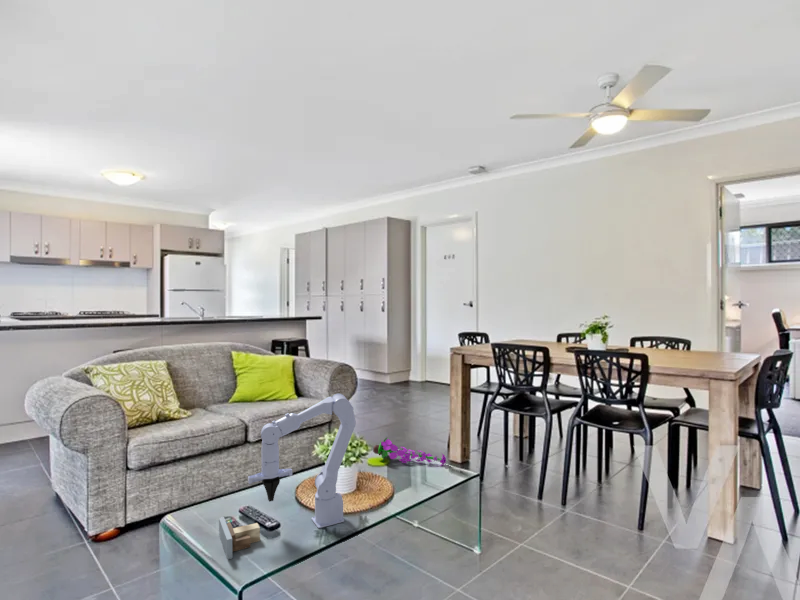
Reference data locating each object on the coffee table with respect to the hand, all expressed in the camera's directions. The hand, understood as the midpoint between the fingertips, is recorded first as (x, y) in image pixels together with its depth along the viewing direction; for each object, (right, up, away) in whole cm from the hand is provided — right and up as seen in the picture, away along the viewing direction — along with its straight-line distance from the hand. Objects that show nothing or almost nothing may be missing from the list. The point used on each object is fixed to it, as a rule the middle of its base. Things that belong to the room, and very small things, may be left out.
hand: (270, 500), depth 159 cm
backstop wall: (-11, -10, -11) cm, 19 cm away
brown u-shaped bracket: (-8, -10, -9) cm, 16 cm away
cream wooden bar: (-6, -10, -8) cm, 14 cm away
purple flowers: (+48, -10, +64) cm, 81 cm away
